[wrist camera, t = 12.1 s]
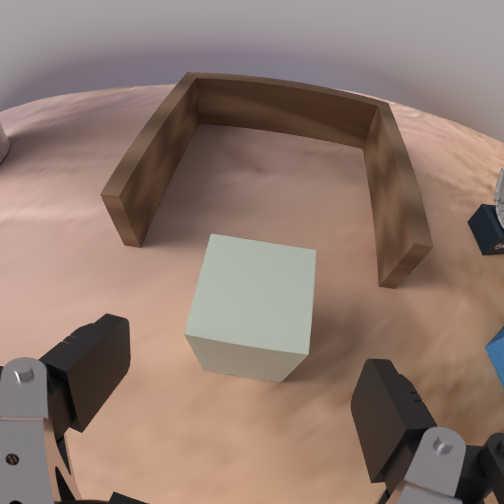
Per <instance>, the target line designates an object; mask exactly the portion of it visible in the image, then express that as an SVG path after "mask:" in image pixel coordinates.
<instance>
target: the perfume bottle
mask: <svg viewBox="0 0 504 504" xmlns="http://www.w3.org/2000/svg"><path fill="white" fill-rule="evenodd" d="M485 349H486V351H487V353H488V355H489V357H490V359H491V361H492V363H493V365H494V367H495V369H496V372H497V374H498V376H499V378H500V381H501V383H502V385H503V388H504V327H503V328H502V329H501V330H500V331H499V332H498V333H497V335H496V336H495V337H494V338H493V339H492V340H491V341H490V342H489V343H488V344H487V346H486V347H485Z"/></svg>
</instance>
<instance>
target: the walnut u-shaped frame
mask: <svg viewBox="0 0 504 504" xmlns="http://www.w3.org/2000/svg"><path fill="white" fill-rule="evenodd" d="M199 123H204V124H216V125H227V126H236V127H245V128H253V129H261V130H268V131H275V132H282V133H288V134H294V135H300V136H306V137H311V138H316V139H322V140H327V141H332V142H336V143H341V144H346V145H350V146H355V147H359V148H363V153H364V158H365V164H366V170H367V176H368V182H369V189H370V196H371V204H372V211H373V220H374V229H375V239H376V250H377V263H378V278H379V286H381V287H388V288H396V287H397V286H398V285H399V284H400V283H401V282H402V281H403V280H404V279H405V278H406V277H407V276H408V275H409V273H410V272H411V271H412V270H413V269H414V268H415V267H416V266H417V265H418V264H419V262H420V261H421V260H422V259H423V258H424V257H425V256H426V254H427V253H428V252H429V251H430V250H431V249H432V248H433V245H432V240H431V236H430V231H429V227H428V223H427V218H426V214H425V210H424V207H423V203H422V199H421V195H420V192H419V188H418V185H417V181H416V178H415V175H414V172H413V169H412V165H411V162H410V159H409V156H408V153H407V151H406V148H405V145H404V142H403V139H402V137H401V134H400V131H399V129H398V126H397V123H396V121H395V118H394V116H393V114H392V111H391V109H390V106H389V104H388V103H387V102H383V101H380V100H376V99H372V98H369V97H365V96H361V95H357V94H353V93H349V92H345V91H340V90H336V89H331V88H326V87H321V86H316V85H310V84H305V83H298V82H292V81H286V80H278V79H272V78H264V77H255V76H244V75H233V74H216V73H190V72H187V73H186V75H185V76H184V77H183V78H182V79H181V80H180V82H179V83H178V84H177V85H176V86H175V88H174V89H173V90H172V91H171V93H170V94H169V95H168V96H167V98H166V99H165V100H164V101H163V103H162V104H161V105H160V106H159V108H158V109H157V110H156V112H155V113H154V114H153V116H152V117H151V118H150V120H149V121H148V122H147V124H146V125H145V127H144V128H143V129H142V131H141V132H140V134H139V135H138V136H137V138H136V139H135V141H134V142H133V144H132V145H131V146H130V148H129V149H128V151H127V152H126V154H125V155H124V157H123V159H122V160H121V162H120V163H119V165H118V166H117V168H116V169H115V171H114V173H113V174H112V176H111V177H110V179H109V181H108V182H107V184H106V186H105V187H104V189H103V191H102V192H101V194H100V195H101V197H102V199H103V201H104V203H105V206H106V208H107V210H108V212H109V214H110V216H111V219H112V221H113V223H114V225H115V227H116V229H117V231H118V233H119V235H120V237H121V239H122V241H123V243H124V245H128V246H134V247H141V245H142V242H143V240H144V238H145V235H146V233H147V230H148V228H149V226H150V223H151V221H152V219H153V216H154V214H155V212H156V210H157V207H158V205H159V203H160V201H161V198H162V196H163V194H164V192H165V190H166V188H167V185H168V183H169V181H170V179H171V177H172V175H173V173H174V171H175V169H176V167H177V165H178V163H179V161H180V159H181V157H182V155H183V153H184V151H185V149H186V147H187V145H188V143H189V141H190V139H191V137H192V135H193V133H194V131H195V130H196V128H197V126H198V124H199Z"/></svg>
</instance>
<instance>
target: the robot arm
mask: <svg viewBox="0 0 504 504" xmlns="http://www.w3.org/2000/svg"><path fill="white" fill-rule="evenodd" d="M9 148H10V143H9V141H8V139H7V136H6V134H5V132H4V130H3V128H2V126H1V124H0V163H1V162H2V160H3V159H4V158H5V156H6V154H7V153H8V151H9ZM130 359H131V356H130V330H129V321H128V320H127V319H126V318H123V317H119V316H115V315H111V314H105V315H104V316H102V317H101V318H100V319H99V320H97V321H96V322H95V323H94V324H93V323H90V324H88V325H85V326H82V327H79V328H78V329H77V330H75V331H74V332H73V333H71V334H70V336H68V337H66V338H65V339H64V340H63V342H60V343H59V344H57V345H56V346H55V347H54V348H52V349H51V350H50V351H49V352H47V353H46V354H45V355H44V356H42V357H41V358H40V359H39V360H37V359H34V358H27V357H24V358H17V359H14V360H12V361H10V362H8V363H7V364H6V365H5V366H4V367H3V366H0V504H148V503H145V502H142V501H139V500H136V499H133V498H130V497H127V496H124V495H122V494H119V493H116V492H113V494H112V496H111V498H110V500H109V501H102V500H82V498H81V495H80V493H79V490H78V488H77V485H76V481H75V477H74V473H73V468H72V464H71V459H70V454H69V449H68V443H67V438H66V435H65V432H66V431H67V429H68V428H69V427H70V428H72V429H74V430H77V431H79V432H81V433H83V431H84V430H85V428H86V427H87V426H88V424H89V423H90V422H91V420H92V419H93V418H94V416H95V415H96V414H97V412H98V411H99V410H100V408H101V407H102V406H103V404H104V403H105V402H106V400H107V399H108V398H109V396H110V395H111V394H112V392H113V391H114V390H115V388H116V387H117V386H118V384H119V383H120V382H121V380H122V379H123V378H124V376H125V375H126V374H127V372H128V369H129V366H130ZM351 412H352V416H353V419H354V423H355V426H356V430H357V433H358V437H359V440H360V444H361V447H362V451H363V455H364V458H365V462H366V466H367V469H368V473H369V477H370V481H371V483H379V482H385V483H386V488H385V489H384V491H383V492H382V493H381V495H380V497H379V498H378V500H377V502H376V503H375V504H485V503H484V501H483V500H484V499H485V498H486V497H487V496H488V495H489V494H490V493H491V492H492V491H493V492H494V494H495V496H496V498H497V501H498V503H499V504H504V433H496V434H493V435H491V436H490V437H489V439H488V440H487V442H486V443H485V444H484V446H470V445H465V442H464V440H463V438H462V437H461V436H460V435H459V434H458V433H456V432H455V431H453V430H451V429H449V428H445V427H438V426H437V424H436V422H435V421H434V419H433V417H432V416H431V414H430V412H429V411H428V409H427V407H426V406H425V404H424V402H422V399H421V397H420V396H419V394H417V391H416V389H415V387H414V386H413V384H412V383H411V382H410V381H409V380H408V379H407V378H405V377H404V376H403V375H402V374H398V372H397V370H396V369H395V367H394V365H393V364H392V362H391V361H390V360H386V359H368V360H367V361H366V362H365V364H364V367H363V370H362V372H361V375H360V378H359V380H358V383H357V385H356V388H355V391H354V393H353V396H352V400H351Z"/></svg>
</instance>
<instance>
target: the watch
mask: <svg viewBox="0 0 504 504" xmlns="http://www.w3.org/2000/svg"><path fill="white" fill-rule="evenodd" d="M494 201H495V204H496V206H495V205H486V204H482V205H481V206H480V207H479V208H478V210H477V211H476V212H475V213H474V215H473V216H472V217H471V218H470V220H469V221H468V224H469V226H470V228H471V230H472V232H473V234H474V236H475V239H476V241H477V243H478V245H479V248H480V250H481V252H482V255H493V254H504V167H503V168H501V171H500V174H499V177H498V180H497V184H496V189H495V196H494Z"/></svg>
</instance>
